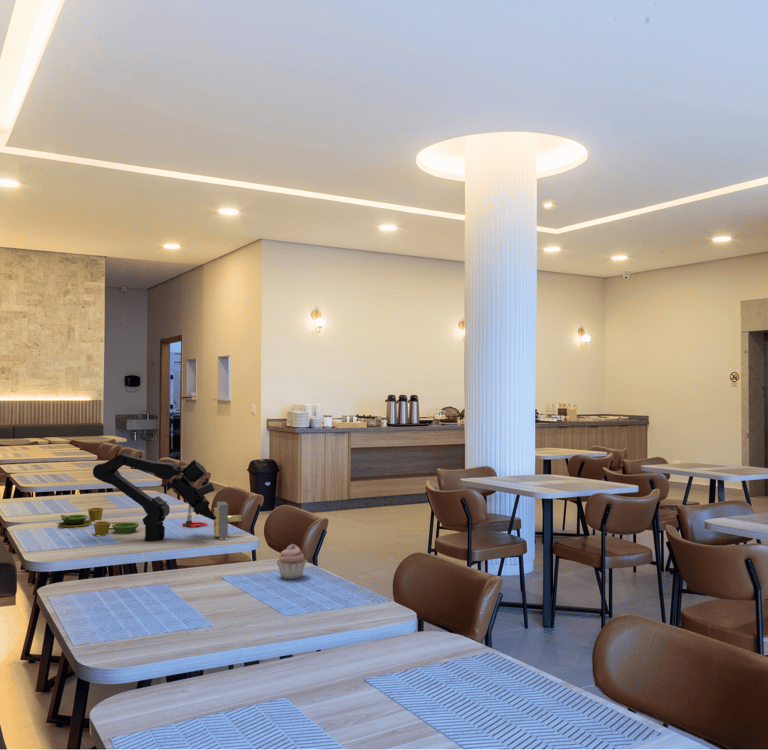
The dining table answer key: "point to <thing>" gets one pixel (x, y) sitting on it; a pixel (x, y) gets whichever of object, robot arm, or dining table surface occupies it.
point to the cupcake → (291, 563)
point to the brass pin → (230, 519)
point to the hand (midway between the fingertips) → (214, 519)
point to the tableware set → (96, 523)
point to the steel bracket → (223, 519)
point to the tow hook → (189, 522)
